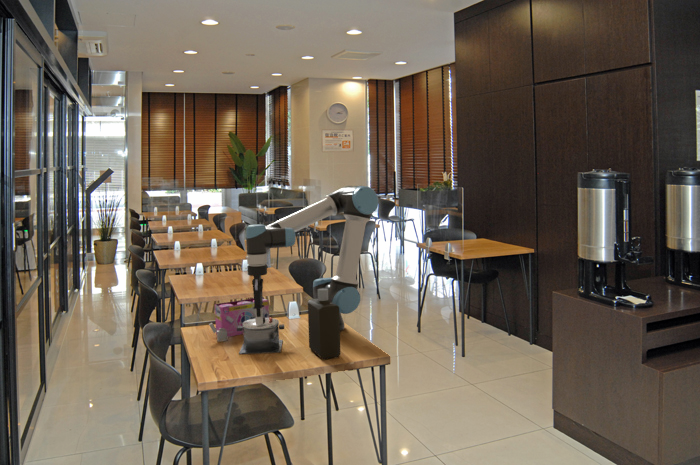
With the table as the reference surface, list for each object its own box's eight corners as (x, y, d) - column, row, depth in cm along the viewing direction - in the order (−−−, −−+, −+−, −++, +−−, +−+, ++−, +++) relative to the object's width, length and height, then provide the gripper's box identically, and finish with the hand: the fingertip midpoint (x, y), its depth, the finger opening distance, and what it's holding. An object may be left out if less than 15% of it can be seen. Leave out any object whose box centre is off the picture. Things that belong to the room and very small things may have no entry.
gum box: (265, 325, 257) (264, 296, 255) (272, 328, 250) (271, 299, 249) (215, 334, 244) (214, 303, 242) (222, 338, 237) (220, 307, 236)
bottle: (321, 360, 205) (319, 294, 203) (308, 348, 220) (306, 286, 218) (341, 357, 208) (340, 292, 206) (327, 346, 223) (325, 284, 221)
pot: (286, 339, 234) (285, 317, 233) (283, 352, 216) (282, 329, 215) (241, 340, 232) (240, 319, 232) (235, 354, 215) (234, 330, 214)
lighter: (227, 339, 235) (226, 321, 234) (227, 340, 233) (226, 322, 232) (210, 341, 233) (209, 322, 232) (210, 342, 231) (209, 323, 231)
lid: (280, 319, 231) (279, 312, 230) (277, 329, 216) (277, 321, 215) (245, 320, 230) (244, 313, 229) (240, 330, 215) (240, 322, 215)
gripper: (249, 262, 221) (251, 320, 223) (245, 267, 208) (247, 329, 210) (268, 261, 221) (270, 319, 224) (265, 267, 208) (267, 328, 211)
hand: (259, 324), depth 217 cm, fingers closed
